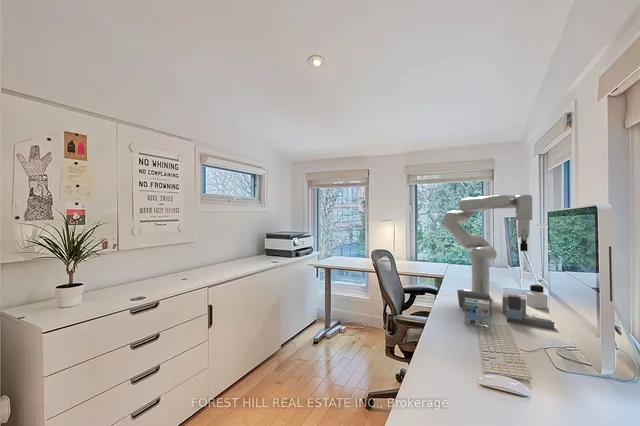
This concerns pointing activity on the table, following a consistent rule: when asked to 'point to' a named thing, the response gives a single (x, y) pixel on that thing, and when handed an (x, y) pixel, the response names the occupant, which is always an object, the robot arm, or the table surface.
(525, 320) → the rail
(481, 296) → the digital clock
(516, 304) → the carriage
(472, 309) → the light bulb box
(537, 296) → the medicine bottle
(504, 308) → the cabinet
